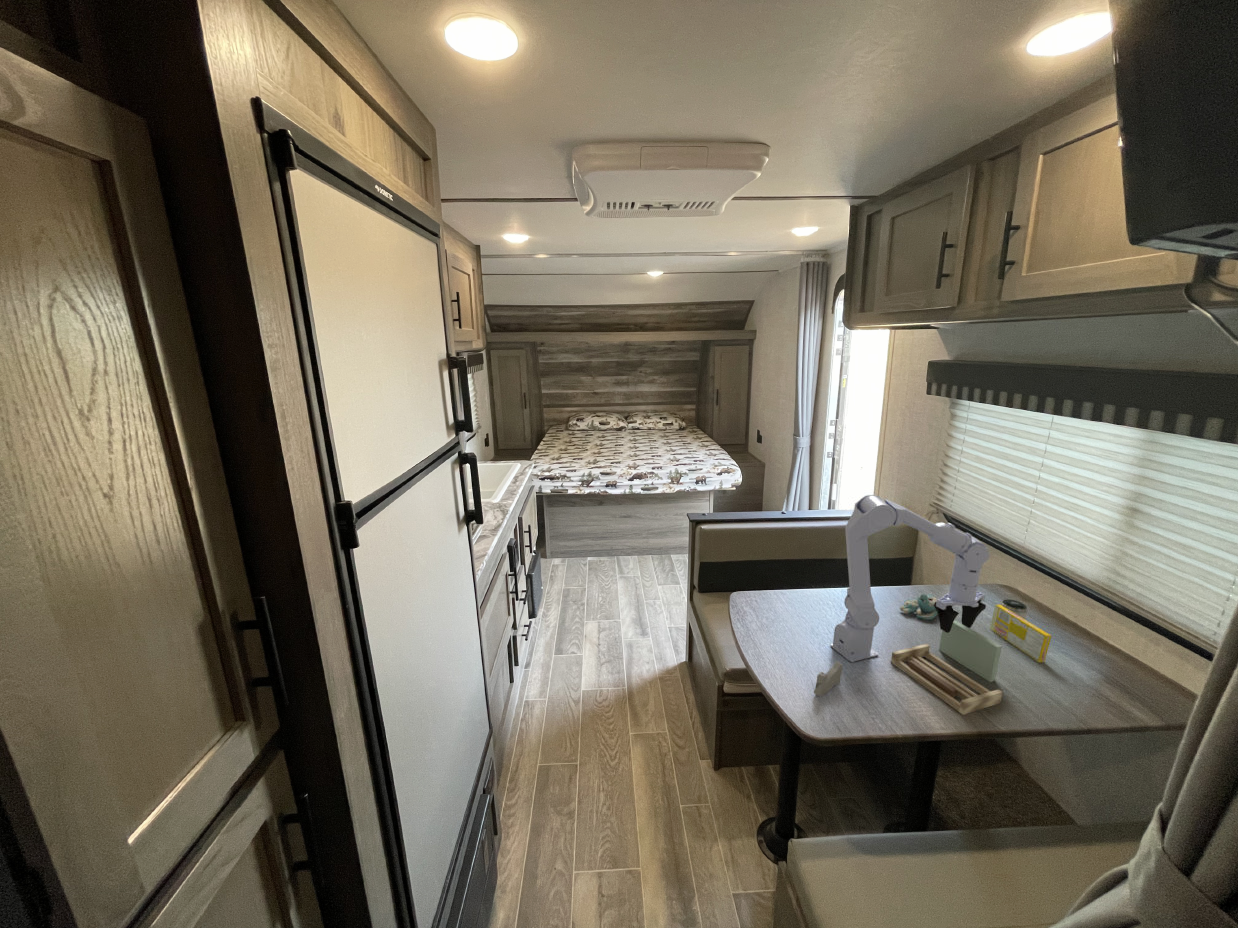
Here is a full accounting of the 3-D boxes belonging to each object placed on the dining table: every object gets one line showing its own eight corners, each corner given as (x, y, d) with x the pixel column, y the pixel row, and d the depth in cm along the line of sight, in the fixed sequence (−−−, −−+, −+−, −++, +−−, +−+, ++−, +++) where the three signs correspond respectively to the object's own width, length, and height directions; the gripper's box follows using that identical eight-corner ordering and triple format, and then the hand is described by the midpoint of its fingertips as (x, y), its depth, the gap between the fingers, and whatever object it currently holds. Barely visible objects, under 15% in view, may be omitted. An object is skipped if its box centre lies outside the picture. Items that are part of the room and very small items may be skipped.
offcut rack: (963, 714, 111) (965, 703, 110) (890, 661, 129) (892, 652, 128) (1000, 702, 114) (1002, 691, 113) (924, 653, 133) (926, 643, 132)
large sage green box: (990, 682, 121) (997, 647, 119) (938, 649, 134) (944, 617, 132) (994, 680, 122) (1001, 645, 119) (943, 648, 135) (948, 616, 132)
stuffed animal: (890, 590, 156) (925, 582, 157) (891, 609, 158) (926, 601, 158) (913, 607, 146) (950, 599, 146) (914, 628, 148) (951, 619, 148)
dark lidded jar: (1027, 633, 142) (1033, 609, 140) (1002, 630, 143) (1007, 606, 141) (1016, 622, 147) (1021, 598, 146) (992, 619, 149) (997, 596, 147)
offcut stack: (951, 701, 115) (952, 691, 114) (907, 670, 126) (909, 660, 125) (958, 699, 116) (960, 688, 115) (914, 668, 127) (916, 658, 126)
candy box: (1046, 662, 129) (1052, 635, 127) (1038, 663, 129) (1045, 635, 127) (995, 628, 144) (1000, 603, 142) (988, 628, 144) (993, 603, 142)
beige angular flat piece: (840, 683, 121) (817, 699, 115) (834, 680, 122) (812, 696, 117) (842, 663, 120) (819, 679, 114) (837, 660, 121) (814, 676, 115)
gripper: (958, 593, 119) (949, 641, 122) (1000, 584, 123) (990, 631, 127) (932, 580, 126) (924, 626, 129) (973, 572, 130) (964, 617, 133)
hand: (955, 628), depth 128 cm, fingers open, 7 cm apart
